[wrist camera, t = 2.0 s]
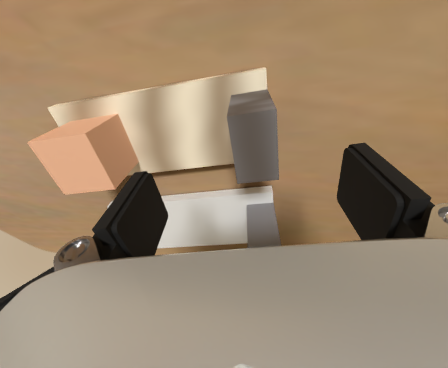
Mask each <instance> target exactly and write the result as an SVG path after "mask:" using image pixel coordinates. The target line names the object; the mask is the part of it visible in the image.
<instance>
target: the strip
mask: <svg viewBox="0 0 448 368" xmlns="http://www.w3.org/2000/svg"><path fill="white" fill-rule="evenodd" d="M161 198H162V200H163V202H164V205H165V207H166V210H167V212H168V220H167V223H166V225H165V228H164V231H163V234H162V236H161V239H160V242H159V244H158V247H157V248H171V247H189V246H207V245H225V244H242V243H248V248H257V247H271V246H281V242H280V236H279V231H278V225H277V220H276V214H275V209H274V204H273V191H272V186H262V187H252V188H241V189H231V190H220V191H210V192H199V193H188V194H178V195H167V196H161ZM112 202H113V201H111V203H112ZM111 203H110V204H109V205H108V206H107V207H109V206H110V205H111Z"/></svg>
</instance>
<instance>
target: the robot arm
mask: <svg viewBox="0 0 448 368" xmlns="http://www.w3.org/2000/svg"><path fill="white" fill-rule="evenodd" d="M337 200H338V203H339V204H340V206H341V208H342V209H343V211H344V212H345V214H346V216H347V217H348V219H349V221H350V222H351V224H352V225H353V227H354V229H355V230H356V232H357V233H358V235H359V237H360V238H361V240H358V241H343V242H328V243H314V244H299V245H284V246H271V247H257V248H243V249H230V250H217V251H203V252H191V253H178V254H166V255H155V253H156V250H157V247H158V244H159V242H160V239H161V236H162V234H163V231H164V228H165V225H166V223H167V220H168V212H167V210H166V207H165V205H164V202H163V200H162V198H161V195H160V193H159V190H158V188H157V186H156V183H155V181H154V179H153V176H152V174H150V173H148V172H147V171H142V172H135V173H134V174H133V175H132V176H131V178H130V179H129V180H128V182H127V183H126V184H125V186H124V187H123V189H122V190H121V191H120V193H119V194H118V195H117V197H116V198H115V199H114V201H113V202H112V203H111V205H110V206H109V207H108V209H107V210H106V211H105V213H104V214H103V215H102V217H101V218H100V220H99V221H98V222H97V224H96V225H95V226H94V228H93V229H92V230H93V232H94V233H95V234H94V236H93V237H91V236H82V237H78V238H76V239H73V240H72V241H70V242H68V243H67V244H65V245H64V246H63V247H62V248H61V249H60V250H59V251H58V252H57V254H56V255H55V257H54V267H52V268H51V269H49V270H47V271H46V272H44V273H42V274H41V275H39V276H37V277H36V278H34V279H32V280H31V281H29V282H27V283H26V284H24V285H22V286H21V287H19V288H17V289H16V290H14V291H12V292H11V293H9V294H7V295H6V296H4V297H2V298H0V368H448V203H443V204H438V205H436V206H435V205H434V204H433V203H431V202H430V200H431V197H430V196H429V195H427V194H426V193H425V192H424V191H423V190H421V189H420V188H419V187H418V186H417V185H415V184H414V183H413V182H412V181H410V180H409V179H408V178H407V177H406V176H404V175H403V174H402V173H401V172H400V171H398V170H397V169H396V168H395V167H394V166H392V165H391V164H390V163H389V162H388V161H386V160H385V159H384V158H383V157H381V156H380V155H379V154H378V153H377V152H375V151H374V150H373V149H372V148H371V147H369V146H368V145H367V144H366V143H359V144H351V145H349V147H348V148H346V149H345V150H344V154H343V160H342V166H341V173H340V179H339V186H338V192H337Z"/></svg>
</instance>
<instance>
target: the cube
mask: <svg viewBox="0 0 448 368" xmlns="http://www.w3.org/2000/svg"><path fill="white" fill-rule="evenodd" d="M27 143H28V144H29V146H30V147H31V149H32V150H33V151H34V153H35V154H36V156H37V157H38V158H39V160H40V161H41V163H42V164H43V165H44V167H45V168H46V170H47V171H48V172H49V174H50V175H51V177H52V178H53V179H54V181H55V182H56V183H57V185H58V186H59V188H60V189H61V190H62V192H63V193H64V195H65V194H75V193H84V192H94V191H104V190H113V189H116V188H117V187H118V186H119V184H120V183H121V182H122V181H123V180H124V179H125V177H126V176H127V175H128V174H129V173H130V171H131V170H132V169H133V168H134V167H135V165H136V164H137V163H138V162H139V161H138V158H137V156H136V154H135V151H134V149H133V147H132V145H131V142H130V140H129V138H128V135H127V133H126V131H125V128H124V126H123V124H122V121H121V119H120V117H119V115H118V114H113V115H106V116H100V117H94V118H88V119H82V120H76V121H70V122H68V123H66V124H64V125H62V126H60V127H58V128H56V129H54V130H52V131H49V132H47V133H45V134H43V135H41V136H39V137H37V138H35V139H33V140H31V141H29V142H27Z"/></svg>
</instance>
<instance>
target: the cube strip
mask: <svg viewBox="0 0 448 368" xmlns="http://www.w3.org/2000/svg"><path fill="white" fill-rule="evenodd" d="M48 110H49V111H50V113H51V115H52V116H53V118H54V120H55V121H56V123H57V125H58V126H59V127H60V126H62V125H64V124H66V123H68V122H70V121H76V120H82V119H88V118H94V117H100V116H106V115H113V114H118V115H119V117H120V119H121V121H122V124H123V126H124V128H125V131H126V133H127V135H128V138H129V140H130V142H131V145H132V147H133V149H134V151H135V154H136V156H137V158H138V161H139V162H138V163H137V164H136V165H135V167H134V168H133V169H132V170H131V171H130V173H129V174H128V175H133V174H134V173H135V172H142V171H147V172H148V173H155V172H163V171H172V170H181V169H190V168H199V167H207V166H216V165H225V164H234V165H235V172H236V178H237V184H240V183H250V182H260V181H270V180H279V167H278V137H277V109H276V107H275V105H274V103H273V101H272V98H271V96H270V94H269V92H268V90H267V77H266V68H265V67H263V68H258V69H252V70H247V71H241V72H235V73H230V74H224V75H219V76H213V77H208V78H202V79H196V80H191V81H185V82H180V83H174V84H168V85H163V86H157V87H152V88H146V89H140V90H135V91H129V92H124V93H118V94H112V95H107V96H101V97H96V98H90V99H85V100H79V101H73V102H68V103H62V104H57V105H54V106H51V107H48ZM128 175H127V176H128Z"/></svg>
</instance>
